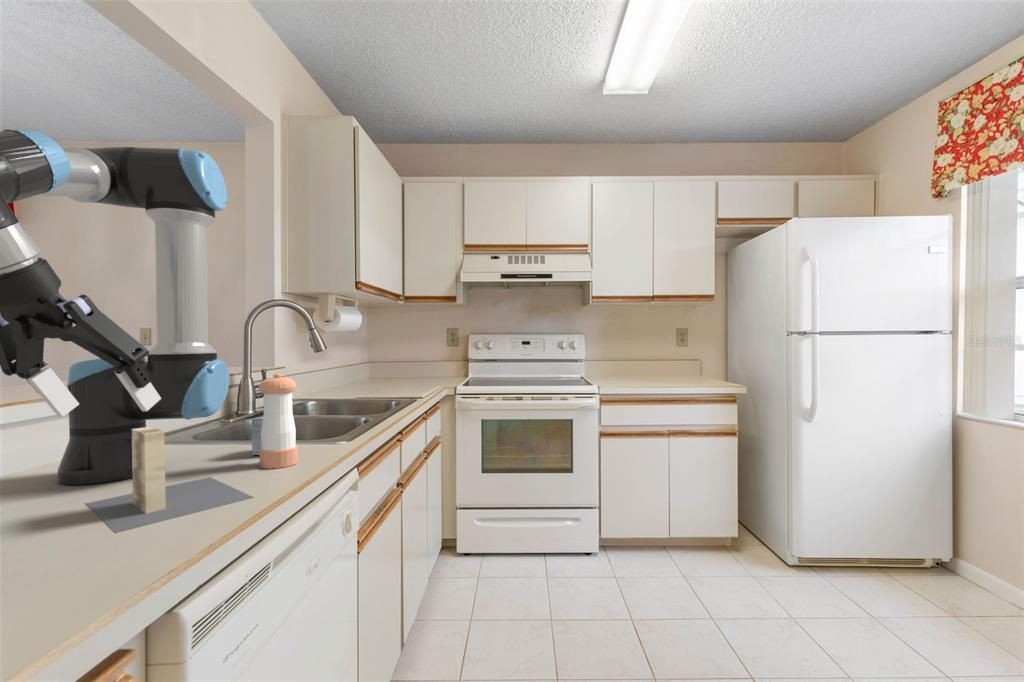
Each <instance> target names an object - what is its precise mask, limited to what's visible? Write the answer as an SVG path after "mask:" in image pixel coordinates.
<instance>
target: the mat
mask: <svg viewBox="0 0 1024 682" xmlns="http://www.w3.org/2000/svg"><path fill="white" fill-rule="evenodd" d="M165 495H166V509H163V510H159V511H155V512H150V513H145V512H143V511H142V510H141V509H139V508H138V507H137V506H135V505H134V504H133V493H130V494H128V493H127V494H124V495H119V496H115V497H110V498H105V499H101V500H96V501H91V502H86V503H85V504H84V505H86V506H87V508H89V510H91V511H92V512H93V513H94V514H95V515H96V517H98V518H99V519H100V520H101V521H102V522H103V523H104V524H105V525H106V526H107V527H108V528H109V529H110V530H112V531H113V533H114V534H118V533H122V532H127V531H129V530H132V529H133V530H134V529H137V528H141V527H145V526H148V525H149V526H150V525H153V524H157V523H161V522H163V521H164V522H165V521H169V520H172V519H177V518H180V517H185V516H187V515H192V514H196V513H201V512H203V511H208V510H211V509H215V508H219V507H223V506H226V505H230V504H234V503H239V502H242V501H246V500H247V501H248V500H250V499H254V498H255V497H254V496H252V495H251V494H248V493H246V492H244V491H241V490H239V489H237V488H234V487H233V486H231V485H228V484H226V483H224V482H221V481H220V480H217V479H215V478H213V477H204V478H201V479H200V478H199V479H196V480H195V479H194V480H189V481H185V482H180V483H175V484H172V485H167V486H166V485H165Z"/></svg>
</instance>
